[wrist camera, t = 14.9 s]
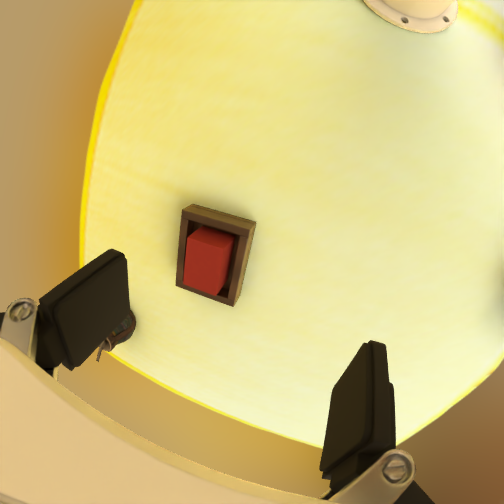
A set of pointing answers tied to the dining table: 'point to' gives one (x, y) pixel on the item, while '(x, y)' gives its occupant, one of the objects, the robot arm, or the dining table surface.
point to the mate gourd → (119, 334)
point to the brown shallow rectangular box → (244, 235)
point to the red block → (208, 259)
